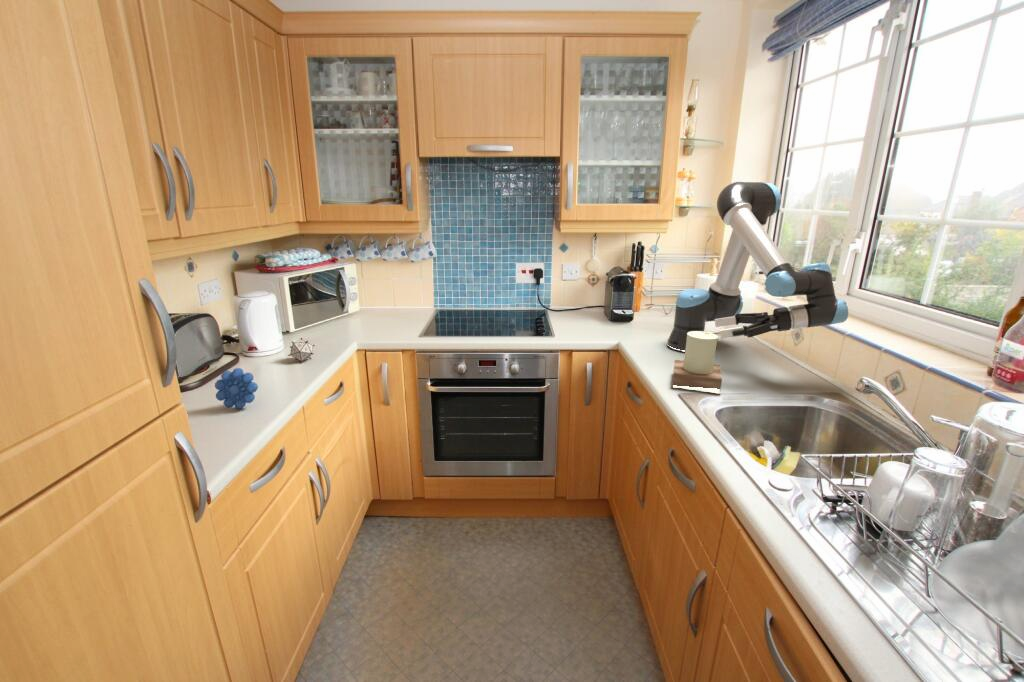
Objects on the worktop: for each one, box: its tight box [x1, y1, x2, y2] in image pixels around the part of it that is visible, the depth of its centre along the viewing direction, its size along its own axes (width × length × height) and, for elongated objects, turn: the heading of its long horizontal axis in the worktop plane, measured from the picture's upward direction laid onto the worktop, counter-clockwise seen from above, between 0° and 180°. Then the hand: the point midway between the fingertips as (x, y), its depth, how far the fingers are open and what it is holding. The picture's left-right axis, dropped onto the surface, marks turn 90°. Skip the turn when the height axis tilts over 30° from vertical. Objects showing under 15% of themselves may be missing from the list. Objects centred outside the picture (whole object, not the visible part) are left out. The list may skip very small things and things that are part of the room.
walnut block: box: [671, 359, 723, 390], centre depth 152 cm, size 14×14×5 cm
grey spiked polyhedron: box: [287, 337, 315, 364], centre depth 168 cm, size 9×8×10 cm
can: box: [683, 331, 719, 374], centre depth 149 cm, size 9×9×12 cm
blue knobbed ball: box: [214, 367, 259, 410], centre depth 129 cm, size 12×7×12 cm, turn 91°
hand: (717, 328), depth 157 cm, fingers open, 13 cm apart
